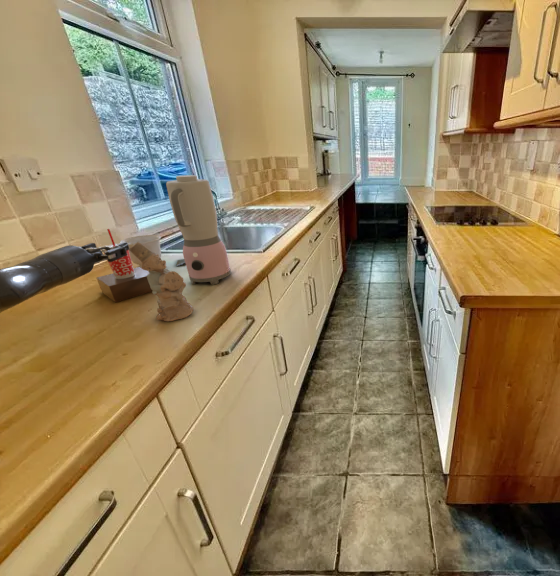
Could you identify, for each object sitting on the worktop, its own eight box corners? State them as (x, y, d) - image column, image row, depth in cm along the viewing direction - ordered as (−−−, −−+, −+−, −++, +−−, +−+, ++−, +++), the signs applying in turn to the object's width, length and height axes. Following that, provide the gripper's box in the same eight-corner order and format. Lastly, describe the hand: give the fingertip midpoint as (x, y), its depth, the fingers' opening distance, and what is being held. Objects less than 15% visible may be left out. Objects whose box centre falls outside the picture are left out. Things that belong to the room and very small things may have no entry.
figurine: (146, 322, 79) (118, 244, 70) (172, 306, 86) (149, 234, 78) (179, 324, 78) (154, 245, 69) (202, 308, 85) (182, 235, 77)
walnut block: (115, 302, 89) (109, 286, 87) (102, 293, 95) (96, 277, 93) (159, 289, 97) (154, 274, 95) (144, 281, 103) (139, 266, 101)
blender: (202, 271, 110) (177, 174, 97) (237, 271, 111) (217, 174, 97) (176, 290, 96) (143, 179, 83) (217, 289, 96) (190, 179, 83)
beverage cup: (113, 281, 90) (94, 233, 84) (111, 275, 94) (93, 229, 88) (139, 276, 93) (123, 229, 88) (136, 270, 97) (120, 225, 92)
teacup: (117, 267, 115) (107, 240, 110) (165, 258, 124) (157, 233, 120) (120, 276, 106) (110, 248, 102) (171, 266, 116) (163, 239, 111)
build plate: (176, 266, 115) (172, 254, 113) (178, 261, 121) (174, 249, 119) (214, 261, 120) (211, 249, 118) (214, 255, 126) (211, 244, 124)
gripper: (87, 249, 73) (133, 232, 88) (21, 251, 72) (78, 233, 87) (100, 279, 76) (141, 258, 91) (36, 281, 75) (89, 259, 90)
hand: (110, 246), depth 89 cm, fingers open, 8 cm apart
